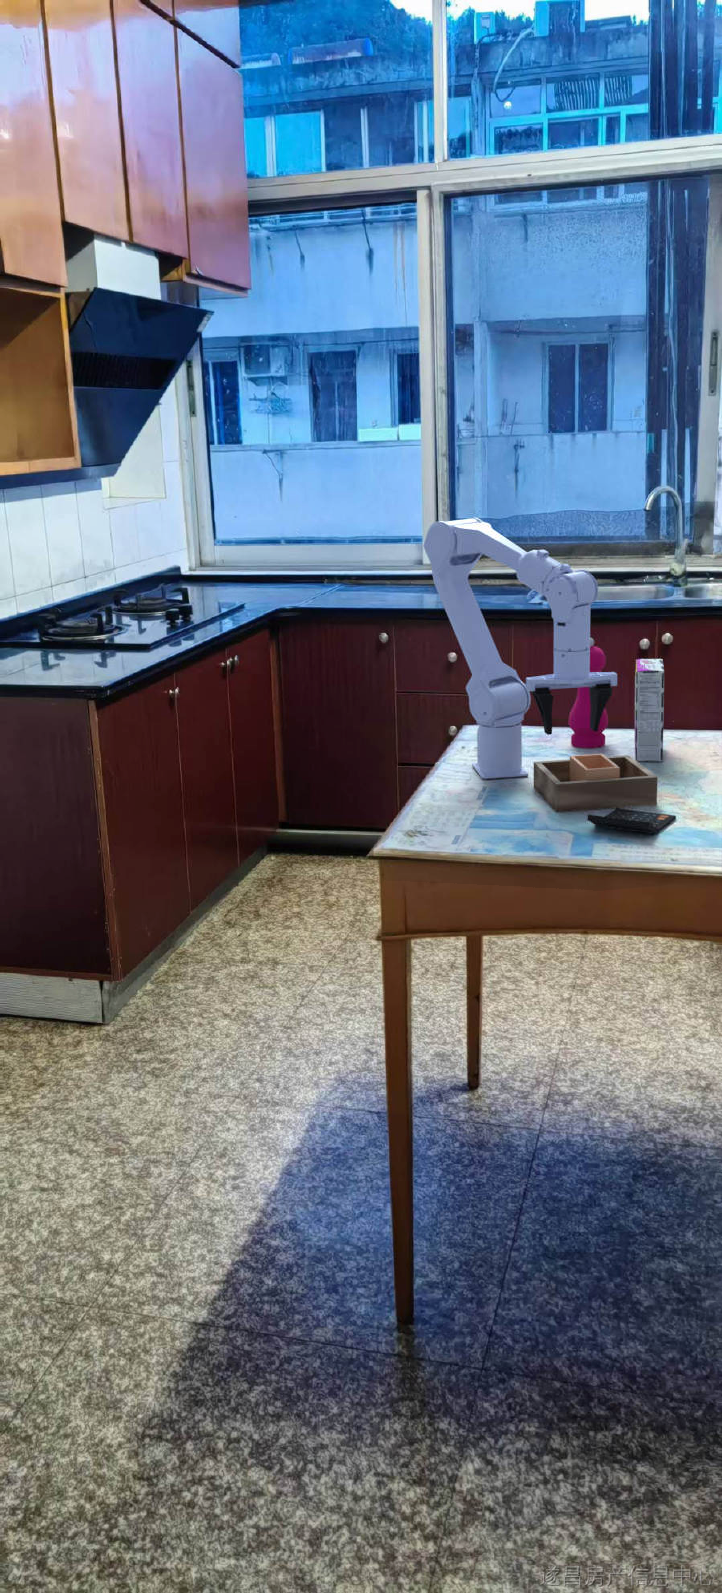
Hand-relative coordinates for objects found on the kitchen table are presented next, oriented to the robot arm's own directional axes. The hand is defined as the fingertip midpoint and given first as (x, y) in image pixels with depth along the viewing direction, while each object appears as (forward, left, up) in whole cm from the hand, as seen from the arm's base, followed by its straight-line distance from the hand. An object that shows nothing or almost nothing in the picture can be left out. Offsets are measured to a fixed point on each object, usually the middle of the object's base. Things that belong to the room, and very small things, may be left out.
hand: (571, 731), depth 204 cm
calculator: (+22, +3, -10) cm, 24 cm away
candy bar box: (-17, +19, -10) cm, 27 cm away
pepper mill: (-27, +11, -10) cm, 31 cm away
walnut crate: (+6, +2, -9) cm, 11 cm away
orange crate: (+6, +2, -9) cm, 11 cm away
